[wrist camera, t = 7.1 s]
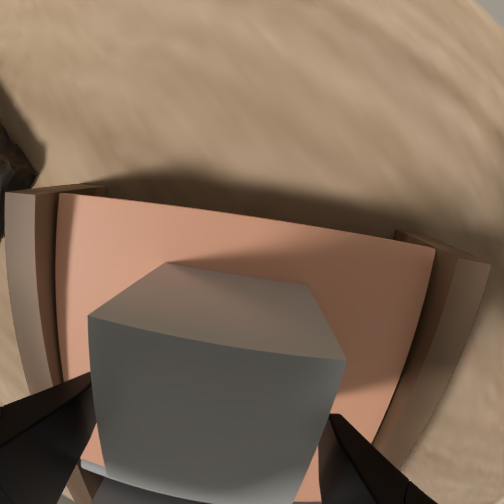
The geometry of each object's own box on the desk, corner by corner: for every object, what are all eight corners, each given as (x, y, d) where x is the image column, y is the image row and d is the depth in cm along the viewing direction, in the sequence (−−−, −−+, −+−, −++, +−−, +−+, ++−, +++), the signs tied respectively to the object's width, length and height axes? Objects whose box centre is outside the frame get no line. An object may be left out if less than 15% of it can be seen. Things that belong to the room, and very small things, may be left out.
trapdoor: (408, 240, 14) (464, 258, 9) (308, 518, 18) (313, 565, 13) (90, 193, 14) (28, 193, 9) (108, 485, 18) (87, 527, 13)
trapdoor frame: (425, 235, 17) (491, 264, 10) (320, 498, 22) (327, 552, 16) (78, 183, 17) (5, 192, 10) (104, 463, 22) (80, 511, 16)
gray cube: (307, 285, 12) (347, 360, 6) (280, 402, 13) (289, 510, 7) (164, 262, 12) (87, 315, 6) (157, 382, 13) (106, 476, 7)
